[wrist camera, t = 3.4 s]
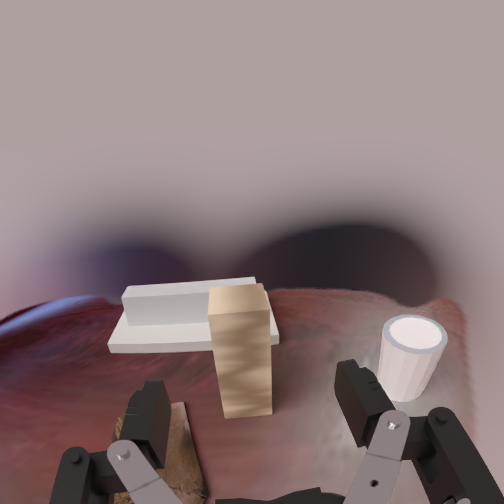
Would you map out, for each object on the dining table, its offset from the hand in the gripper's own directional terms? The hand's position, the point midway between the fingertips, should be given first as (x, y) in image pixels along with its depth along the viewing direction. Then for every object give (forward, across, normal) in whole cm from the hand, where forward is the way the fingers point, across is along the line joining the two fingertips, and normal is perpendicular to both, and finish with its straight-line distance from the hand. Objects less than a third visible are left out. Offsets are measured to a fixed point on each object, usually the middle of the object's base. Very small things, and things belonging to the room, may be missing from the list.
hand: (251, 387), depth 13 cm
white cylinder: (+10, -16, +14) cm, 23 cm away
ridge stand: (+26, +7, +13) cm, 30 cm away
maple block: (+12, 0, +13) cm, 18 cm away
